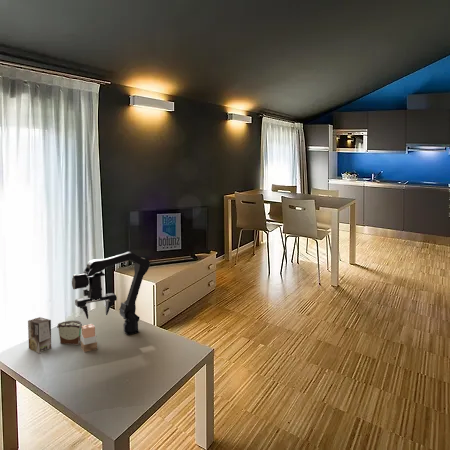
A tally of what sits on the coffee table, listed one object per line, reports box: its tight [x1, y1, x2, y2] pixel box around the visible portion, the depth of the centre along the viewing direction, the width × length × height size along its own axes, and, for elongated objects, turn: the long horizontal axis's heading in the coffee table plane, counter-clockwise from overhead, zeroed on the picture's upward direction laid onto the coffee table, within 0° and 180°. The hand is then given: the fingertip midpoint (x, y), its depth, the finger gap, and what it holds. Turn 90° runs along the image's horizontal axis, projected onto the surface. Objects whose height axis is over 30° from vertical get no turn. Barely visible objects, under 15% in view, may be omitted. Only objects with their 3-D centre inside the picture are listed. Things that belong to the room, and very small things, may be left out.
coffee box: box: [27, 316, 52, 354], centre depth 178 cm, size 9×6×16 cm
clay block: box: [81, 323, 96, 338], centre depth 176 cm, size 5×5×4 cm
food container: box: [57, 320, 83, 346], centre depth 185 cm, size 12×6×10 cm, turn 83°
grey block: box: [80, 334, 98, 345], centre depth 177 cm, size 6×6×3 cm
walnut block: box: [80, 340, 98, 353], centre depth 177 cm, size 6×6×4 cm
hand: (97, 316), depth 184 cm, fingers open, 9 cm apart
